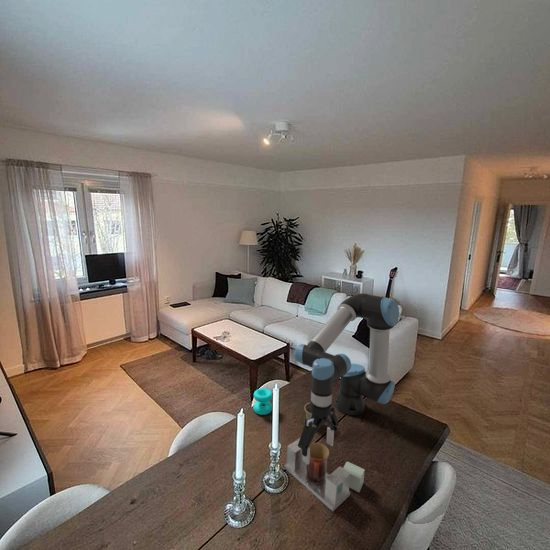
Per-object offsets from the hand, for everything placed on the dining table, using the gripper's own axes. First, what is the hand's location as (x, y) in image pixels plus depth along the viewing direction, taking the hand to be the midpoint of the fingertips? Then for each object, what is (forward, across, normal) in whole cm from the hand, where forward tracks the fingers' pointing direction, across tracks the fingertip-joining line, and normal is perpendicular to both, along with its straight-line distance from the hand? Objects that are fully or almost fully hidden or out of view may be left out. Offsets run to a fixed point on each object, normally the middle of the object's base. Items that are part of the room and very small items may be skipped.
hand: (318, 452), depth 114 cm
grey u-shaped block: (+12, +1, 0) cm, 12 cm away
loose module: (+12, -9, +10) cm, 18 cm away
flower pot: (+13, -23, -22) cm, 35 cm away
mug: (+11, +1, 0) cm, 11 cm away
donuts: (+13, -11, -46) cm, 49 cm away
